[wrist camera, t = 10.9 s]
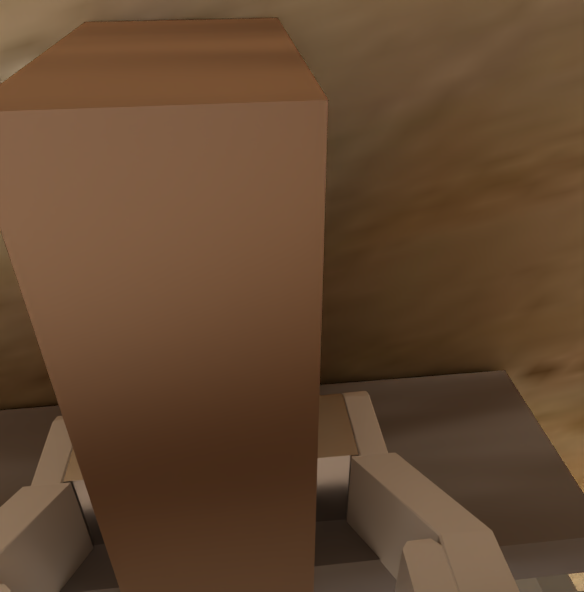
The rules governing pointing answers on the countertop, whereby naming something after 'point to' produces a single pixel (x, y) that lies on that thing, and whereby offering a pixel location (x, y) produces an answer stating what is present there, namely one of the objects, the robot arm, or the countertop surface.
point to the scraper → (220, 323)
